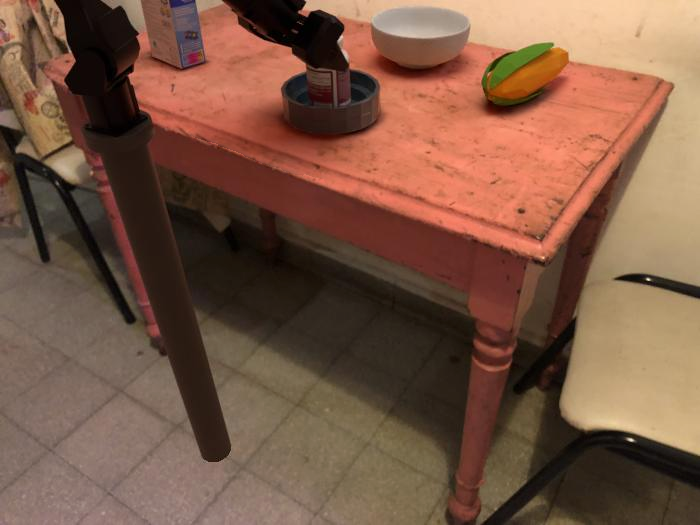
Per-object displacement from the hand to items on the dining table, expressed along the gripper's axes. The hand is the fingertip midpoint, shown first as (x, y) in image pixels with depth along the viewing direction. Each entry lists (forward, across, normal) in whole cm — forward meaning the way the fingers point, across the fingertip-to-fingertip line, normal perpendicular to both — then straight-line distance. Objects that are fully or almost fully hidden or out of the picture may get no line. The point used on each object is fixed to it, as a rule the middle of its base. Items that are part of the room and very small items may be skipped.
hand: (327, 58), depth 82 cm
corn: (+26, -12, -14) cm, 32 cm away
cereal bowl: (+23, +8, -11) cm, 27 cm away
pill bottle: (+6, 0, +6) cm, 8 cm away
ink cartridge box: (0, +36, +12) cm, 38 cm away
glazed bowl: (+6, 0, +6) cm, 9 cm away
